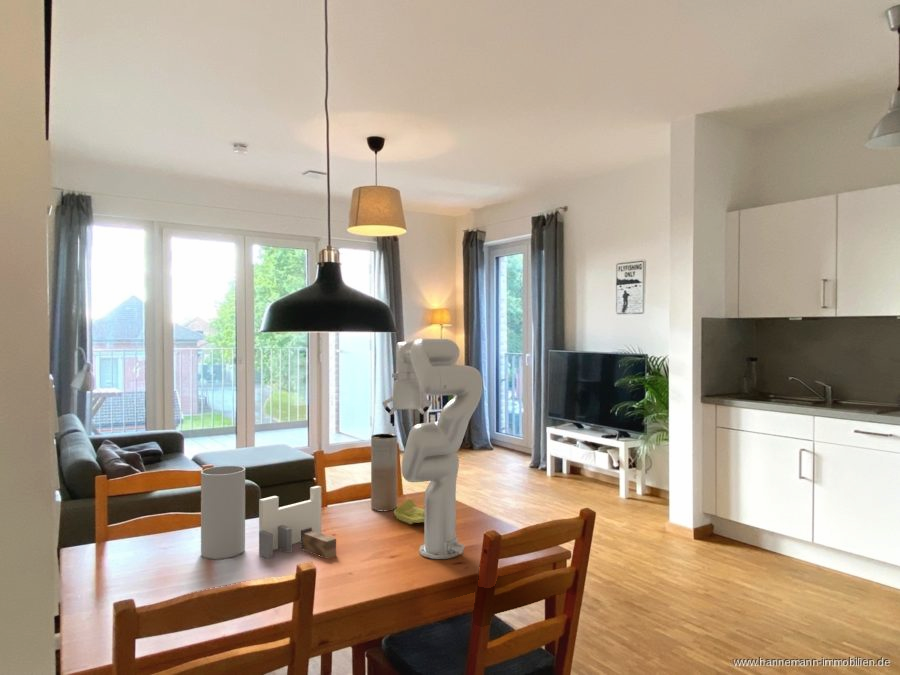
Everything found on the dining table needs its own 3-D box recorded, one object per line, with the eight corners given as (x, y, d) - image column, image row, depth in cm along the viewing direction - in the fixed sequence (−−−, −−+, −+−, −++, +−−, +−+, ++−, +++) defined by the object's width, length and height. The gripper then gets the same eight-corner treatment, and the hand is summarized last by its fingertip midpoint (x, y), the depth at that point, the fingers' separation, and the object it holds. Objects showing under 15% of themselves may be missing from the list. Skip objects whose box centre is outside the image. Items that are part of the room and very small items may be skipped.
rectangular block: (336, 555, 175) (336, 536, 175) (326, 558, 172) (326, 539, 172) (310, 545, 183) (310, 527, 183) (300, 548, 180) (300, 529, 180)
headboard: (330, 538, 189) (330, 489, 189) (268, 558, 172) (268, 504, 172) (317, 533, 194) (317, 485, 194) (255, 553, 176) (255, 500, 176)
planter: (388, 502, 231) (388, 432, 231) (401, 508, 223) (402, 436, 223) (366, 507, 225) (366, 435, 225) (379, 513, 217) (379, 438, 217)
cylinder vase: (222, 562, 169) (222, 476, 169) (191, 556, 174) (191, 472, 174) (253, 548, 180) (254, 468, 180) (223, 542, 185) (224, 464, 185)
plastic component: (391, 512, 211) (412, 496, 216) (399, 529, 212) (420, 512, 218) (419, 521, 195) (441, 504, 200) (428, 540, 196) (450, 522, 201)
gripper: (382, 377, 200) (382, 427, 200) (432, 377, 202) (432, 426, 202) (382, 376, 208) (382, 424, 207) (430, 376, 210) (430, 423, 210)
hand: (406, 425), depth 205 cm, fingers open, 9 cm apart
